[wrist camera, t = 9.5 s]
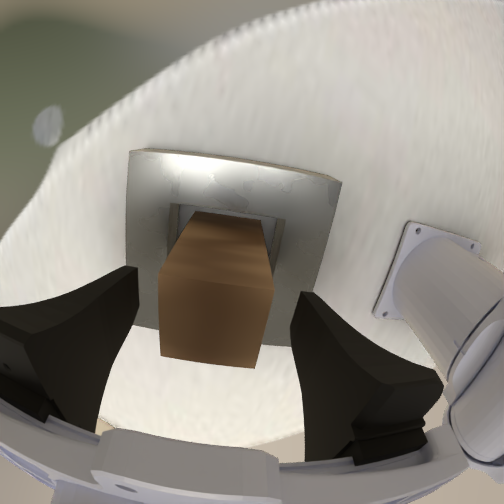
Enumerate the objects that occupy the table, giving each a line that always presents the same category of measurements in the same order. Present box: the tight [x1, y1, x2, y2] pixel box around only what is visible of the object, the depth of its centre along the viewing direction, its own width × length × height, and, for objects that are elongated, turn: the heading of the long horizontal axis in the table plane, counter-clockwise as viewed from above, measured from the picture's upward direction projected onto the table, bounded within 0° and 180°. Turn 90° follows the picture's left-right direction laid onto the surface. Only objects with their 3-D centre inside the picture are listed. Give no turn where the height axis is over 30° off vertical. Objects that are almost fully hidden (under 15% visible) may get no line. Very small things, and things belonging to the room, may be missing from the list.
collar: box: [126, 148, 342, 347], centre depth 16 cm, size 11×11×2 cm
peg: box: [158, 211, 275, 369], centre depth 13 cm, size 4×4×8 cm
